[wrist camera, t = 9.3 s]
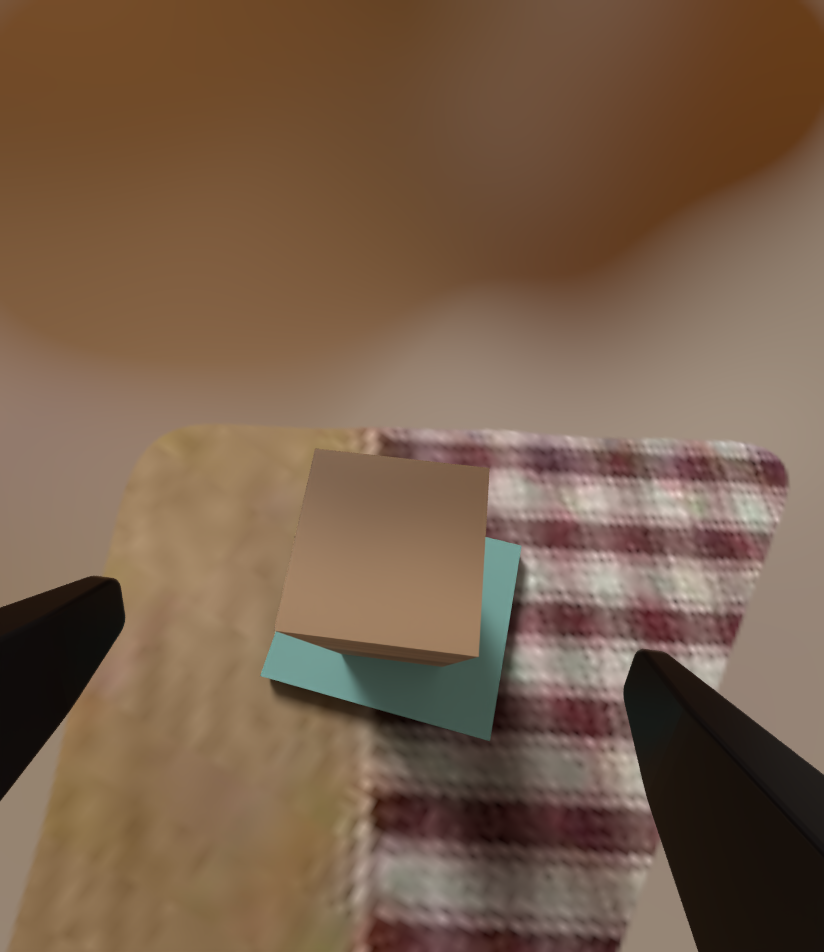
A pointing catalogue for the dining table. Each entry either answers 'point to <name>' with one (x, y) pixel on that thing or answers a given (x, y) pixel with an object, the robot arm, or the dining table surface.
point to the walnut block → (388, 559)
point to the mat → (416, 685)
